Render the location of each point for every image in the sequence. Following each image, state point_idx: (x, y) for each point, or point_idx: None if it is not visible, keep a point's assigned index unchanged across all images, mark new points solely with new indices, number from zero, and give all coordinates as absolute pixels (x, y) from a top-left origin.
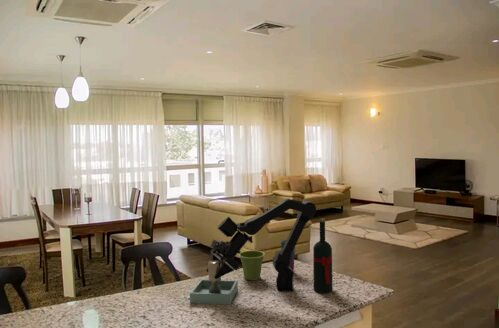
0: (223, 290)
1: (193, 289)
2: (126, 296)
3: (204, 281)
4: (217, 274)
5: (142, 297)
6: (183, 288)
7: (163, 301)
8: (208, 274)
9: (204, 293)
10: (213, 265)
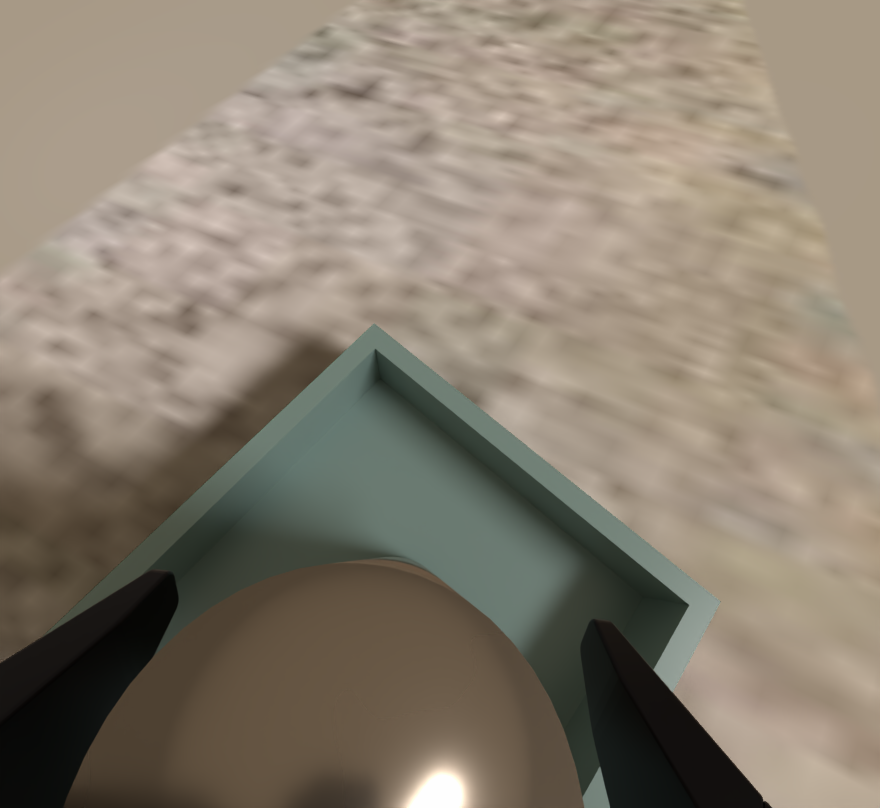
0: None
1: (446, 391)
2: (706, 112)
3: (665, 628)
4: (65, 636)
5: (650, 166)
6: (715, 446)
7: (514, 234)
8: (411, 564)
9: (267, 432)
10: (164, 662)
